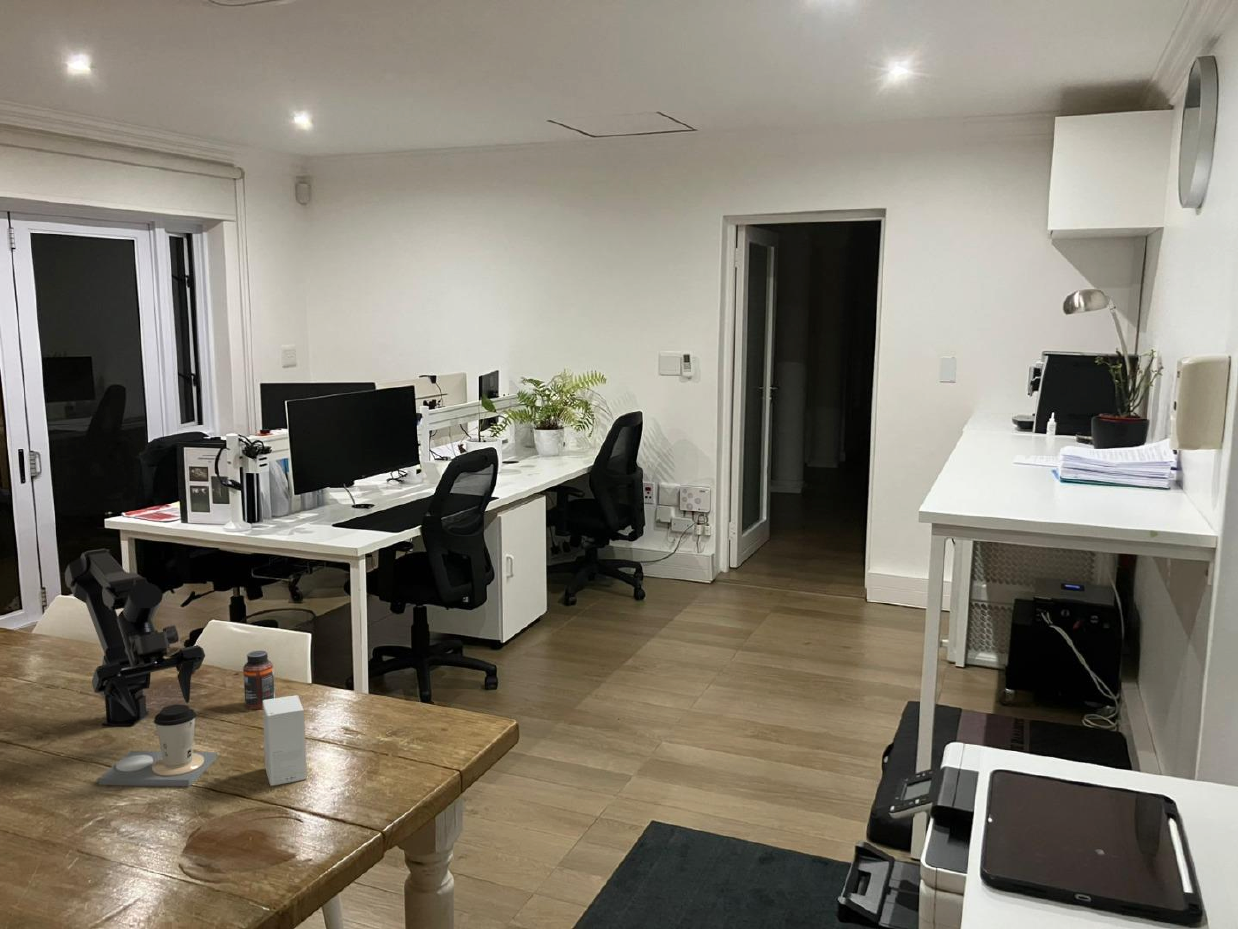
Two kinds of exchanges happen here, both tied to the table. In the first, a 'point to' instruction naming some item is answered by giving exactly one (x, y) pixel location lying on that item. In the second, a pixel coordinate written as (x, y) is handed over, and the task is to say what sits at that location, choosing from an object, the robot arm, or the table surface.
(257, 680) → the supplement bottle
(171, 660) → the robot arm
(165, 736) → the coffee cup
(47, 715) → the table surface
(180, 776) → the slate board
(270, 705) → the small box
